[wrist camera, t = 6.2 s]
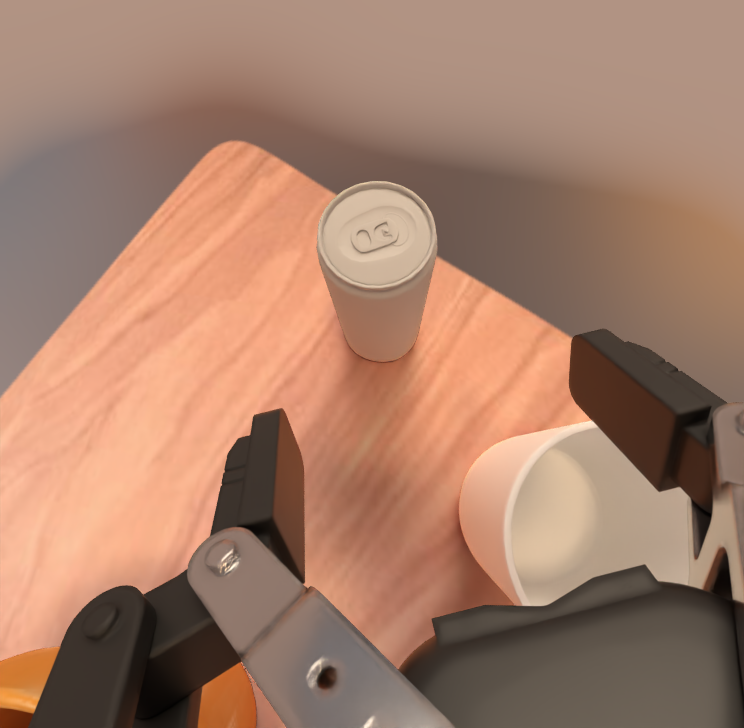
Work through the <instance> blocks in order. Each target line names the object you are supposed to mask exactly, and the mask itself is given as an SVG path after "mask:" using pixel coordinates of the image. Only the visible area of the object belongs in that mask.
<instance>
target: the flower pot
mask: <svg viewBox="0 0 744 728" xmlns="http://www.w3.org/2000/svg"><path fill="white" fill-rule="evenodd" d="M59 649H60V647H51V648H43V649H39V650H34V651H30V652H26V653H23V654H20V655H17V656H14V657H11V658H8V659H5V660H3V661H0V728H28V726H29V724H30V721H31V719H32V716H33V714H34V711H35V709H36V706H37V704H38V701H39V699H40V696H41V694H42V691H43V689H44V686H45V684H46V681H47V679H48V676H49V674H50V671H51V669H52V666H53V664H54V661H55V659H56V656H57V654H58V651H59ZM198 728H256V704H255V698H254V694H253V690H252V687H251V684H250V681H249V678H248V676H247V674H246V672H245V670H244V668H243V667H242V665H241V663H238V664H237V665H235V666H233V667H232V668H230V669H229V670H227V671H226V672H224V673H222V674H221V675H219V676H218V677H216V678H215V679H213V680H211V681H210V682H208V683H207V684H205V685H204V686H203V687H202V696H201V704H200V712H199V720H198Z"/></svg>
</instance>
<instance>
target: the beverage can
mask: <svg viewBox="0 0 744 728" xmlns="http://www.w3.org/2000/svg"><path fill="white" fill-rule="evenodd" d="M317 252H318V258H319V263H320V266H321V269H322V272H323V275H324V278H325V281H326V283H327V286H328V289H329V292H330V295H331V298H332V301H333V304H334V307H335V310H336V313H337V315H338V318H339V321H340V324H341V327H342V330H343V333H344V336H345V339H346V341H347V342H348V344H349V346H350V348H351V349H352V350H353V351H354V352H355V353H356V354H358V355H360V356H361V357H363V358H365V359H369V360H372V361H378V362H388V361H394V360H396V359H398V358H400V357H403V356H404V355H405V354H406V353H407V352H408V351H410V349H411V348H412V346H413V345H414V343H415V342H416V339H417V336H418V333H419V328H420V324H421V320H422V315H423V311H424V307H425V302H426V298H427V294H428V289H429V285H430V281H431V277H432V272H433V268H434V264H435V259H436V255H437V235H436V227H435V223H434V219H433V216H432V213H431V212H430V210H429V209H428V207H427V205H426V204H425V202H424V201H423V200H422V199H421V198H419V197H418V196H417V195H416V194H415V193H414V192H412V191H411V190H409V189H407V188H405V187H403V186H401V185H398V184H394V183H390V182H380V181H378V182H377V181H371V182H366V183H361V184H357V185H355V186H353V187H350V188H348V189H346V190H344V191H343V192H341V193H340V194H339V195H338V196H336V197H335V198H334V199H333V200H332V201H331V202H330V203H329V205H328V206H327V207H326V209H325V210H324V212H323V214H322V217H321V219H320V222H319V224H318V234H317Z"/></svg>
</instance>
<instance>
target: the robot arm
mask: <svg viewBox="0 0 744 728" xmlns="http://www.w3.org/2000/svg"><path fill="white" fill-rule="evenodd" d="M569 388H570V392H571V395H572V397H573V399H574V401H575V402H576V404H577V405H578V406H579V407H580V408H581V409H582V410H583V411H584V412H585V413H586V414H587V416H588V417H589V418H590V419H591V420H592V421H593V422H594V423H595V424H596V425H597V426H598V427H599V428H600V430H601V431H602V432H603V433H604V434H605V435H606V436H607V437H608V438H609V439H610V440H611V441H612V442H613V443H614V445H615V446H616V447H617V448H618V449H619V450H620V451H621V452H622V453H623V454H624V455H625V456H626V457H627V459H628V460H629V461H630V462H631V463H632V464H633V465H634V466H635V467H636V468H637V469H638V470H639V471H640V472H641V474H642V475H643V476H644V477H645V478H646V479H647V480H648V481H649V482H650V483H651V484H652V485H653V486H654V488H655V489H656V490H657V491H658V492H662V491H666V490H669V489H673V488H677V487H680V488H681V489H682V490H683V491H684V492H685V493H686V494H687V495H688V500H687V526H688V552H689V580H688V585H684V584H679V583H672V582H664V581H657V579H656V578H655V577H654V575H653V574H652V573H651V571H650V570H649V569H648V567H647V566H646V565H645V564H644V565H640V566H636V567H632V568H628V569H624V570H620V571H616V572H612V573H608V574H605V575H601V576H597V577H593V578H591V579H590V580H588V581H586V582H585V583H583V584H581V585H580V586H578V587H577V588H575V589H573V590H572V591H570V592H568V593H567V594H565V595H564V596H562V597H560V598H559V599H557V600H555V601H554V602H552V603H550V604H548V605H545V606H503V605H483V606H479V607H475V608H471V609H468V610H464V611H460V612H456V613H452V614H448V615H444V616H440V617H436V618H432V622H433V627H434V631H435V636H434V637H432V638H430V639H429V640H427V641H425V642H424V643H423V644H422V645H420V646H419V647H418V648H417V649H416V650H414V651H413V652H412V654H411V655H410V656H409V657H408V658H407V659H406V660H405V661H404V662H403V664H402V665H401V666H400V668H399V669H397V668H396V667H395V666H394V665H393V664H392V663H391V662H390V661H389V660H388V659H387V658H386V657H385V656H384V655H383V654H382V653H381V652H380V651H379V650H378V649H377V648H376V647H375V646H374V645H373V644H372V643H371V642H370V641H369V640H368V639H367V638H366V637H365V636H364V635H363V634H362V633H361V632H360V631H359V630H358V629H357V628H356V627H355V626H354V625H353V624H352V623H351V622H350V621H349V620H348V619H347V618H346V617H345V616H344V615H343V614H342V613H341V612H340V611H339V610H338V609H336V608H335V607H334V606H333V605H332V604H331V603H330V602H329V601H328V600H327V599H326V598H325V597H324V596H323V595H322V594H321V593H320V592H319V591H318V590H317V589H315V588H314V587H312V586H310V587H309V588H306V587H305V586H304V585H303V584H304V583H305V537H304V466H303V460H302V456H301V452H300V449H299V447H298V444H297V442H296V439H295V436H294V434H293V431H292V429H291V426H290V424H289V421H288V418H287V416H286V413H285V411H284V410H283V409H282V408H280V409H276V410H272V411H268V412H264V413H260V414H256V415H254V417H253V422H252V428H251V435H249V436H245V437H241V438H238V440H237V441H236V443H235V444H234V446H233V447H232V448H231V450H230V451H229V453H228V455H227V460H226V465H225V469H224V470H225V473H224V474H223V479H222V486H221V488H220V492H219V497H218V502H217V506H216V511H215V516H214V520H213V525H212V530H211V534H210V537H209V538H208V539H206V540H205V541H204V542H203V543H202V544H201V545H200V546H199V547H198V548H197V550H196V551H195V553H194V554H193V556H192V558H191V560H190V562H189V565H188V569H187V570H185V571H184V572H183V573H181V574H180V575H178V576H177V577H175V578H173V579H171V580H170V581H168V582H166V583H164V584H162V585H160V586H159V587H157V588H155V589H153V590H151V591H149V592H148V593H146V594H144V595H143V594H142V593H141V592H140V591H139V590H138V589H137V588H135V587H133V586H119V587H115V588H112V589H110V590H108V591H106V592H104V593H102V594H100V595H99V596H97V597H96V598H94V599H93V600H92V601H91V602H89V603H88V604H87V605H86V606H85V607H84V608H83V609H82V610H81V611H80V612H79V613H78V615H77V616H76V617H75V619H74V620H73V621H72V623H71V624H70V626H69V628H68V630H67V632H66V634H65V636H64V639H63V641H62V644H61V646H60V649H59V651H58V654H57V656H56V659H55V661H54V664H53V666H52V669H51V671H50V674H49V676H48V679H47V681H46V684H45V686H44V689H43V691H42V694H41V696H40V699H39V701H38V704H37V706H36V709H35V711H34V714H33V716H32V719H31V721H30V724H29V726H28V728H198V720H199V712H200V704H201V696H202V687H203V686H204V685H205V684H207V683H208V682H210V681H211V680H213V679H215V678H216V677H218V676H219V675H221V674H222V673H224V672H226V671H227V670H229V669H230V668H232V667H233V666H235V665H237V664H238V663H240V662H241V661H242V663H243V664H244V666H245V667H246V669H247V670H248V672H249V673H250V675H251V676H252V678H253V679H254V681H255V682H256V683H257V685H258V686H259V688H260V689H261V691H262V692H263V694H264V695H265V697H266V698H267V700H268V701H269V702H270V704H271V705H272V707H273V708H274V710H275V711H276V713H277V714H278V716H279V717H280V719H281V720H282V722H283V723H284V724H285V726H286V727H287V728H744V402H735V403H727V402H725V401H724V400H722V399H721V398H720V397H718V396H717V395H715V394H714V393H712V392H711V391H709V390H708V389H707V388H705V387H703V386H702V385H701V384H699V383H698V382H696V381H695V380H693V379H692V378H691V377H689V376H688V375H686V374H685V373H683V372H682V371H678V369H677V368H676V367H675V366H673V365H672V364H670V363H669V362H665V360H664V359H663V358H662V357H660V356H659V355H657V354H656V353H655V352H653V351H652V350H650V349H648V348H645V347H642V346H640V345H637V344H634V343H631V342H624V341H622V340H621V339H619V338H618V337H617V336H615V335H614V334H613V333H611V332H610V331H608V330H606V329H600V330H596V331H591V332H588V333H583V334H579V335H576V336H574V337H573V339H572V342H571V356H570V372H569Z"/></svg>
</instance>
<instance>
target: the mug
mask: <svg viewBox="0 0 744 728" xmlns="http://www.w3.org/2000/svg"><path fill="white" fill-rule="evenodd" d="M687 500H688V495H687V494H686V493H685V492H684V491H683V490H682V489H681V488H680V487H677V488H673V489H669V490H666V491H662V492H658V491H657V490H656V489H655V488H654V486H653V485H652V484H651V483H650V482H649V481H648V480H647V479H646V478H645V477H644V476H643V475H642V474H641V472H640V471H639V470H638V469H637V468H636V467H635V466H634V465H633V464H632V463H631V462H630V461H629V460H628V459H627V457H626V456H625V455H624V454H623V453H622V452H621V451H620V450H619V449H618V448H617V447H616V446H615V445H614V443H613V442H612V441H611V440H610V439H609V438H608V437H607V436H606V435H605V434H604V433H603V432H602V431H601V430H600V428H599V427H598V426H597V425H596V424H595V423H594V422H593V421H587V422H582V423H577V424H573V425H568V426H563V427H558V428H553V429H549V430H544V431H539V432H534V433H530V434H525V435H520V436H515V437H512V438H509V439H506V440H503V441H501V442H499V443H497V444H495V445H493V446H492V447H490V448H489V449H487V450H486V451H485V452H484V453H482V454H481V455H480V456H479V457H478V458H477V460H476V461H475V462H474V463H473V464H472V466H471V468H470V469H469V471H468V473H467V475H466V477H465V479H464V482H463V485H462V488H461V492H460V498H459V518H460V524H461V529H462V533H463V536H464V538H465V541H466V543H467V545H468V547H469V549H470V551H471V553H472V555H473V556H474V558H475V559H476V561H477V562H478V563H479V565H480V566H481V567H482V568H483V570H484V571H485V572H486V573H487V574H488V575H489V577H490V578H491V579H492V580H493V581H494V582H495V583H496V584H497V585H498V587H499V588H500V589H501V590H502V591H503V592H504V593H505V594H506V596H507V597H508V598H509V599H510V600H511V601H512V602H513V603H514V604H515V606H545V605H548V604H550V603H552V602H554V601H555V600H557V599H559V598H560V597H562V596H564V595H565V594H567V593H568V592H570V591H572V590H573V589H575V588H577V587H578V586H580V585H581V584H583V583H585V582H586V581H588V580H590V579H591V578H593V577H597V576H601V575H605V574H608V573H612V572H616V571H620V570H624V569H628V568H632V567H636V566H640V565H644V564H645V565H646V566H647V567H648V569H649V570H650V571H651V573H652V574H653V575H654V577H655V578H656V579H657V581H664V582H672V583H679V584H684V585H688V580H689V552H688V526H687Z"/></svg>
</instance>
